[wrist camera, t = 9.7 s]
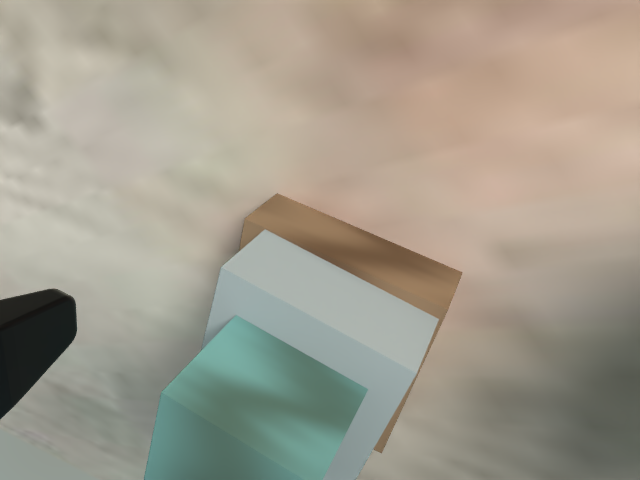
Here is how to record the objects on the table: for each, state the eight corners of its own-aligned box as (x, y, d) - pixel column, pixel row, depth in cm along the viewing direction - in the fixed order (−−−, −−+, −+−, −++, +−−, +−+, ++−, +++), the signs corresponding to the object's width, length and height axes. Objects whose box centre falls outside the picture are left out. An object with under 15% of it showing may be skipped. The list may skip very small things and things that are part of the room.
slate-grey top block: (439, 318, 19) (416, 373, 17) (371, 439, 23) (345, 497, 20) (265, 229, 20) (221, 267, 18) (228, 356, 24) (188, 402, 22)
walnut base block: (464, 267, 21) (447, 309, 19) (401, 405, 25) (381, 453, 23) (281, 190, 23) (244, 218, 21) (251, 330, 27) (217, 367, 25)
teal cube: (368, 389, 18) (318, 488, 14) (323, 475, 20) (272, 575, 17) (236, 314, 19) (161, 392, 15) (210, 406, 21) (141, 488, 18)
